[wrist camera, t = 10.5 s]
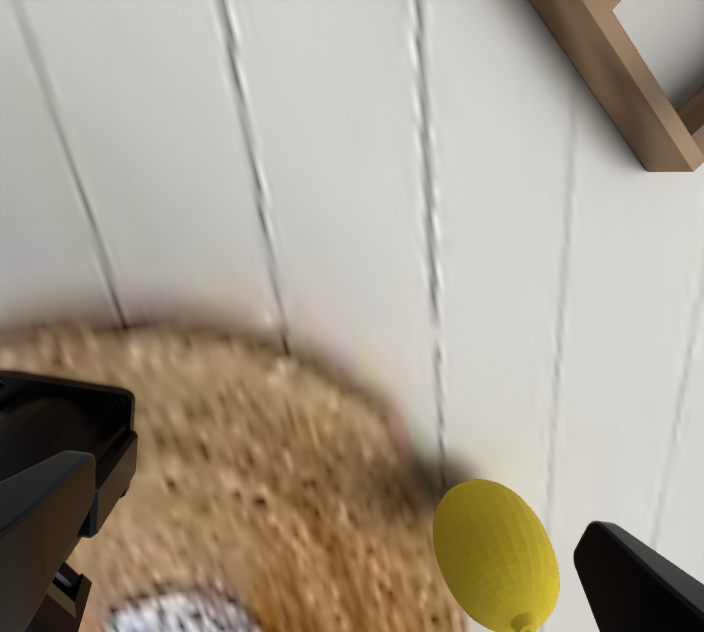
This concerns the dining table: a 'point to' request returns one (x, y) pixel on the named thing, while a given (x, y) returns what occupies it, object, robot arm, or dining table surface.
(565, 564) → the dining table surface
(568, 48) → the wooden compartment tray
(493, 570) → the lemon
